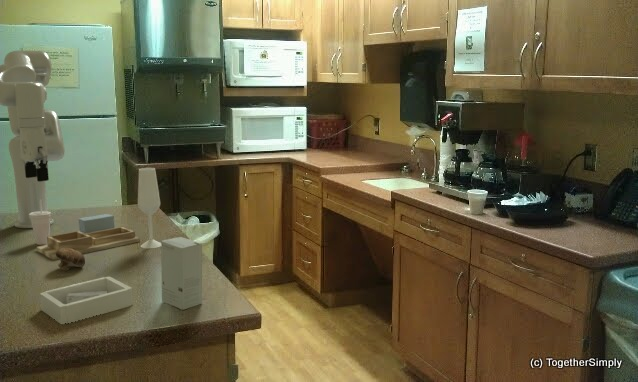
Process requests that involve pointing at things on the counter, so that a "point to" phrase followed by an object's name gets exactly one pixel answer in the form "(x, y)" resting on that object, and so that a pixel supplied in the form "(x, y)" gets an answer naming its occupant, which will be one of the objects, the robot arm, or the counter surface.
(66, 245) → the tray
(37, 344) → the counter surface
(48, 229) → the smoothie
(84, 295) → the soap bar
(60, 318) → the soap dish rim
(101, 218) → the pale grey block
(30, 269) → the counter surface
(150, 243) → the champagne flute
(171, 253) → the skincare box
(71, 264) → the mushroom
